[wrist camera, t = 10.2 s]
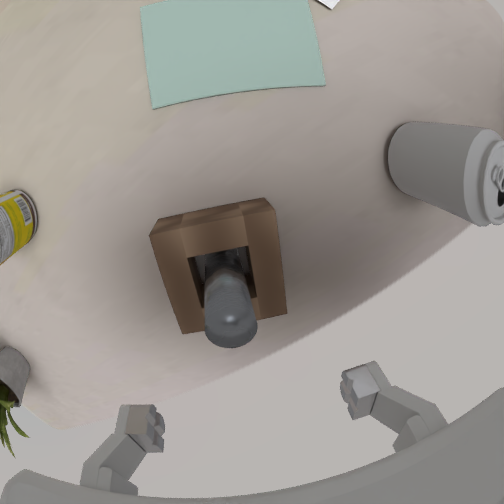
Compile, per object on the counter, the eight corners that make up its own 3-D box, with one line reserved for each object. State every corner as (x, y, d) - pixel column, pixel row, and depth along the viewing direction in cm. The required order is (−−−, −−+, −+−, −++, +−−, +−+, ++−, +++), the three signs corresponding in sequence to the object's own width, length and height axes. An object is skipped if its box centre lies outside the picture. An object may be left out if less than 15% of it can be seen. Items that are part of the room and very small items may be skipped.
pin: (235, 237, 24) (253, 302, 15) (241, 268, 25) (260, 342, 16) (201, 244, 24) (198, 313, 15) (208, 274, 25) (211, 351, 16)
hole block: (264, 197, 23) (275, 209, 19) (276, 289, 27) (287, 313, 23) (158, 219, 22) (149, 235, 19) (184, 307, 26) (182, 334, 22)
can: (417, 206, 25) (502, 250, 15) (370, 170, 23) (468, 204, 12) (443, 148, 23) (531, 171, 12) (400, 106, 21) (500, 109, 10)
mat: (303, -9, 16) (304, -10, 15) (324, 85, 20) (325, 85, 19) (141, 9, 15) (140, 7, 14) (153, 109, 19) (152, 108, 18)
